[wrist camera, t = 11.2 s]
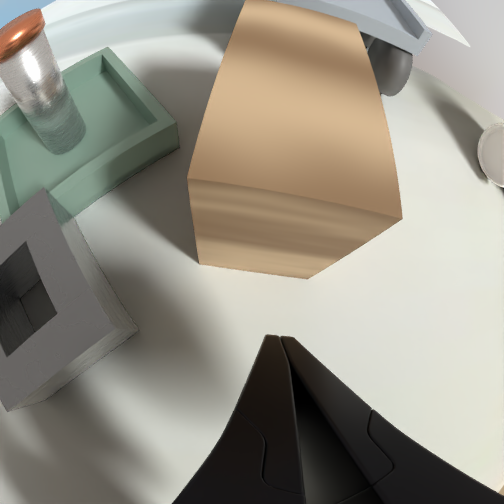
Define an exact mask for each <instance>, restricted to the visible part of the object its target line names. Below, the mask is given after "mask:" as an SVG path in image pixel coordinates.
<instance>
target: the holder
mask: <svg viewBox="0 0 504 504" xmlns="http://www.w3.org/2000/svg"><path fill="white" fill-rule="evenodd" d="M40 280H42V282H43V284H44V287H45V289H46V291H47V293H48V295H49V297H50V300H51V302H52V304H53V306H54V308H55V310H56V312H57V314H56V315H55V316H54V317H53V318H52V319H50V320H49V321H48V322H47V323H46V324H45V325H43V326H42V327H41V328H40V329H39V330H38V331H36V332H34V330H33V328H32V326H31V323H30V321H29V319H28V317H27V315H26V312H25V310H24V308H23V305H22V303H21V301H20V298H21V297H22V296H23V295H24V294H25V293H26V292H27V291H28V290H29V289H31V288H32V287H33V286H34V285H35V284H36V283H37V282H38V281H40ZM138 331H139V329H138V328H137V326H136V325H135V323H134V322H133V320H132V319H131V317H130V316H129V314H128V313H127V311H126V310H125V308H124V307H123V305H122V303H121V302H120V300H119V299H118V297H117V295H116V294H115V292H114V291H113V289H112V287H111V286H110V284H109V282H108V281H107V279H106V277H105V275H104V274H103V272H102V270H101V268H100V267H99V265H98V263H97V261H96V259H95V258H94V256H93V254H92V252H91V250H90V248H89V247H88V245H87V243H86V241H85V239H84V237H83V235H82V233H81V231H80V229H79V227H78V225H77V223H76V221H75V219H74V217H73V216H72V215H71V214H70V213H69V212H68V211H67V210H66V209H65V208H64V207H63V206H62V205H61V204H60V203H59V202H58V201H57V200H56V199H55V198H54V197H53V196H52V195H51V194H50V193H49V191H48V190H47V189H46V188H45V187H43V188H42V189H41V190H39V191H38V192H37V193H36V194H35V195H33V196H32V197H31V198H30V199H29V200H28V201H26V202H25V203H24V204H23V205H22V206H21V207H20V208H19V209H17V210H16V211H15V212H14V213H13V214H12V215H11V216H10V217H9V218H8V219H7V220H6V221H5V222H4V223H3V224H2V225H1V226H0V400H1V401H2V403H3V405H4V407H5V409H6V410H7V412H9V411H12V410H16V409H19V408H22V407H25V406H28V405H32V404H35V403H38V402H41V401H44V400H46V399H47V398H49V397H50V396H51V395H53V394H54V393H55V392H57V391H58V390H59V389H61V388H62V387H63V386H65V385H66V384H67V383H69V382H70V381H72V380H73V379H74V378H76V377H77V376H78V375H80V374H81V373H82V372H84V371H85V370H86V369H88V368H89V367H90V366H92V365H93V364H94V363H96V362H97V361H99V360H100V359H101V358H103V357H104V356H105V355H107V354H108V353H109V352H111V351H112V350H113V349H115V348H116V347H118V346H119V345H120V344H122V343H123V342H124V341H126V340H127V339H128V338H130V337H131V336H132V335H134V334H135V333H136V332H138Z"/></svg>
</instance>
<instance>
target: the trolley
mask: <svg viewBox="0 0 504 504" xmlns="http://www.w3.org/2000/svg"><path fill="white" fill-rule="evenodd" d="M276 2H279V3H284V4H289V5H293V6H298V7H302V8H306V9H310V10H314V11H318V12H321V13H325V14H328V15H331V16H335V17H338V18H341V19H344V20H347V21H350V22H353V23H356V24H357V27H358V29H359V32H360V35H361V37H362V40H363V43H364V45H365V46H366V47H369V50H368V52H367V54H368V57H369V60H370V63H371V66H372V69H373V72H374V75H375V79H376V82H377V86H378V89H379V93H382V94H384V95H387V96H394V95H396V94H397V93H399V92H400V91H401V90H402V88H403V87H404V85H405V84H406V82H407V80H408V78H409V75H410V72H411V68H412V54H414V55H416V56H418V55H419V53H420V52H421V51H422V49H423V48H424V46H425V45H426V43H427V42H428V40H429V39H430V37H431V36H432V33H431V32H430V30H429V29H428V28H427V26H426V25H425V24H424V23H423V21H422V20H421V19H420V17H419V16H418V15H417V14H416V13H415V11H414V10H413V9H412V8H411V7H410V5H409V4H408V3H407V2H406V1H405V0H276Z"/></svg>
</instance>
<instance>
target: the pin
mask: <svg viewBox="0 0 504 504" xmlns="http://www.w3.org/2000/svg"><path fill="white" fill-rule="evenodd" d="M44 26H45V21H44V18H43V16H42V13H41V10H40V9H34V10H31V11H28V12H26V13H24V14H22V15H21V16H19V17H17V18H15V19H14V20H12V21H11V22H9V23H8V24H6V25H5V26H4V27H2V28H1V29H0V77H1V79H2V80H3V82H4V84H5V85H6V87H7V89H8V90H9V92H10V94H11V95H12V97H13V98H14V100H15V102H16V103H17V105H18V106H19V108H20V109H21V111H22V112H23V114H24V115H25V117H26V118H27V120H28V121H29V123H30V124H31V126H32V127H33V128H34V130H35V131H36V133H37V134H38V136H39V137H40V138H41V140H42V141H43V143H44V144H45V145H46V147H47V148H48V149H49V151H50V152H51V153H52V154H55V155H61V154H64V153H67V152H69V151H71V150H72V149H73V148H75V147H76V146H77V145H78V144H79V143H80V142H81V140H82V139H83V137H84V135H85V133H86V124H85V122H84V120H83V118H82V116H81V114H80V112H79V110H78V108H77V106H76V104H75V102H74V100H73V98H72V96H71V93H70V91H69V89H68V87H67V85H66V83H65V80H64V78H63V76H62V74H61V71H60V69H59V67H58V64H57V62H56V60H55V57H54V55H53V53H52V50H51V48H50V45H49V43H48V40H47V37H46V35H45V32H44V30H43V28H44Z"/></svg>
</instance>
